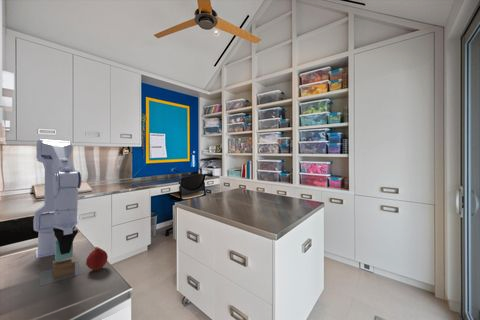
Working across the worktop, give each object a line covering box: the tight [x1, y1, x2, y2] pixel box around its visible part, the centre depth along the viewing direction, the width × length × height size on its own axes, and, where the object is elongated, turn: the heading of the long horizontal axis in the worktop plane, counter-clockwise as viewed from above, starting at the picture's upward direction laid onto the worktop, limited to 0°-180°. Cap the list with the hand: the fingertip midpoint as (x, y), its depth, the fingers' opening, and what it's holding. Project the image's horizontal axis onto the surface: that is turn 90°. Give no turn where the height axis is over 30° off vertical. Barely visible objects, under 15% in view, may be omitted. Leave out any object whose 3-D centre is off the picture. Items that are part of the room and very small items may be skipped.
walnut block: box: [52, 256, 76, 278], centre depth 66 cm, size 5×5×4 cm
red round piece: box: [85, 246, 109, 272], centre depth 68 cm, size 6×6×8 cm
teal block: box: [54, 241, 74, 261], centre depth 66 cm, size 4×4×5 cm
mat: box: [38, 261, 85, 287], centre depth 66 cm, size 10×10×1 cm
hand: (64, 251), depth 66 cm, fingers closed on teal block, 4 cm apart
